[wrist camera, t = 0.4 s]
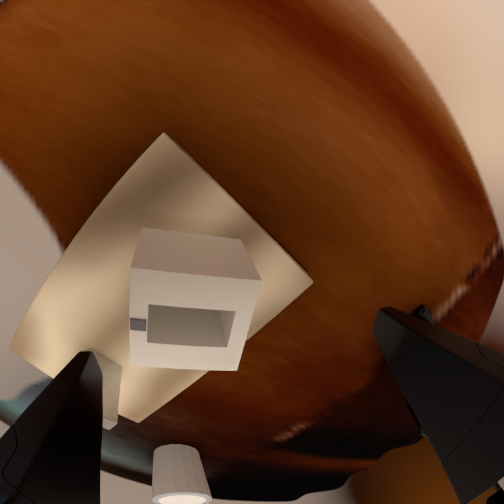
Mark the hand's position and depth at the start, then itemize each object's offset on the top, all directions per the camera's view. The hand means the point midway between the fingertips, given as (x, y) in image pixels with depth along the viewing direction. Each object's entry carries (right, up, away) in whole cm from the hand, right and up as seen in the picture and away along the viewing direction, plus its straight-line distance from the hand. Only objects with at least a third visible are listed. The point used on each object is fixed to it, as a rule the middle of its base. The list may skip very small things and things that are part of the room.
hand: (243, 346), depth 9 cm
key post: (-11, -6, +12) cm, 17 cm away
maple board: (-8, -2, +12) cm, 15 cm away
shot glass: (-9, -22, +22) cm, 32 cm away
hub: (-4, +1, +10) cm, 11 cm away
